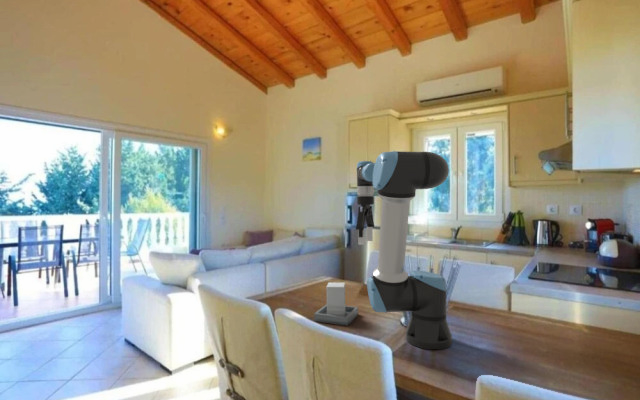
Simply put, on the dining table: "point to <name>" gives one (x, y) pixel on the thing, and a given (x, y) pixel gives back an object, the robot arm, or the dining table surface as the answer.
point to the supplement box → (336, 299)
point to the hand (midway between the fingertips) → (365, 242)
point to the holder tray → (324, 317)
